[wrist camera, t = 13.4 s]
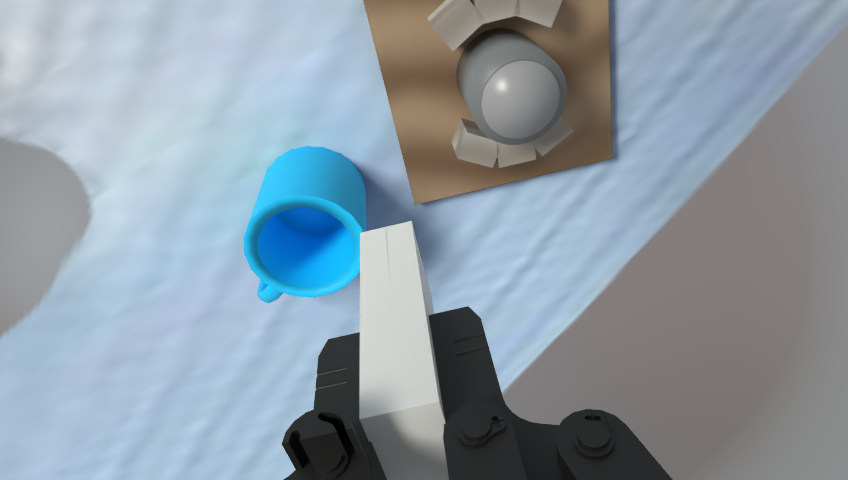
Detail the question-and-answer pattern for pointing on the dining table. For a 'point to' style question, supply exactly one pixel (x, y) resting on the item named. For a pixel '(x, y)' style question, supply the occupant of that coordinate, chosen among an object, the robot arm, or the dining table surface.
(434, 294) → the dining table surface
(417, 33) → the board
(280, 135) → the dining table surface
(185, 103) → the dining table surface
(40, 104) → the dining table surface
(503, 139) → the cap
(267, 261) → the mug
